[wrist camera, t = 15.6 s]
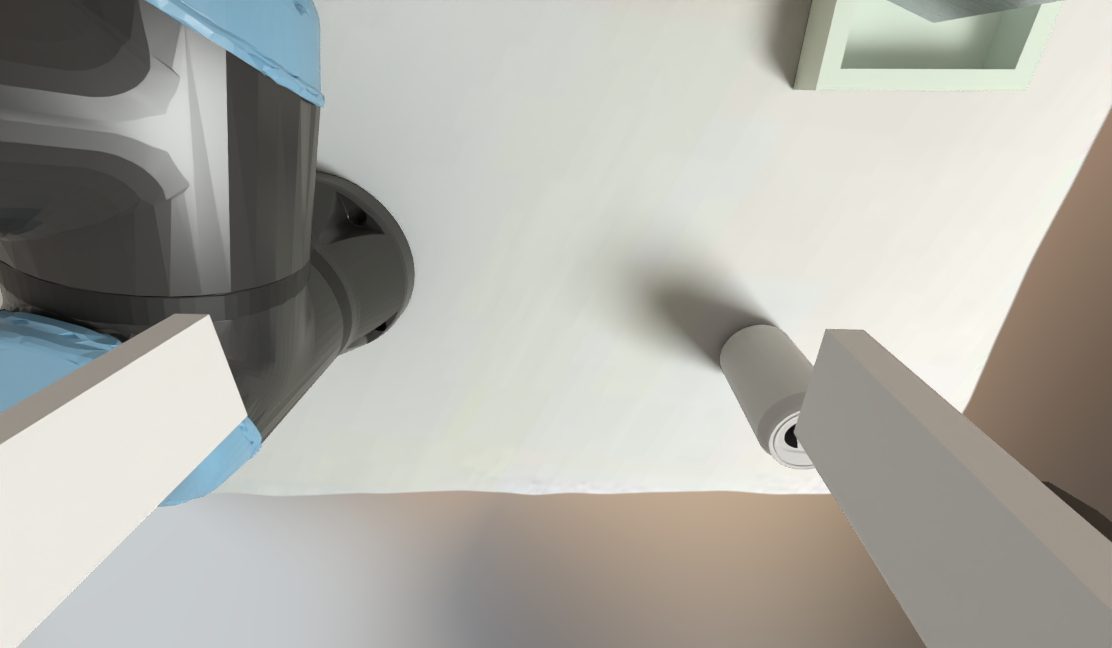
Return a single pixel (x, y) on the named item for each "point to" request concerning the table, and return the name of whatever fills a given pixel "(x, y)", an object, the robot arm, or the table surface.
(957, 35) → the bin
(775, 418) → the beverage can
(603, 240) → the table surface
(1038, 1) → the strut
